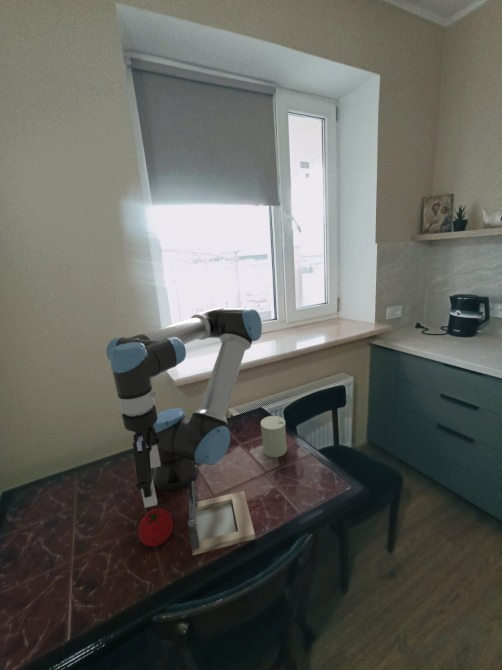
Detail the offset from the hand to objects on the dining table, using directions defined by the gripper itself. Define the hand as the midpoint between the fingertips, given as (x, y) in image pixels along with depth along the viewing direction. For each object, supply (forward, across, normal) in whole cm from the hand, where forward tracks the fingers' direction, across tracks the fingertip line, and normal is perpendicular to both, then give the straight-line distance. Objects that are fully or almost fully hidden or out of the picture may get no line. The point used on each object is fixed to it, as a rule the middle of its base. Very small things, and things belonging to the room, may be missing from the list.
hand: (153, 484), depth 74 cm
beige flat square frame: (+17, 0, -16) cm, 23 cm away
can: (+17, +25, -39) cm, 50 cm away
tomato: (+17, 0, +2) cm, 17 cm away
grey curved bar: (+15, 0, -8) cm, 18 cm away
